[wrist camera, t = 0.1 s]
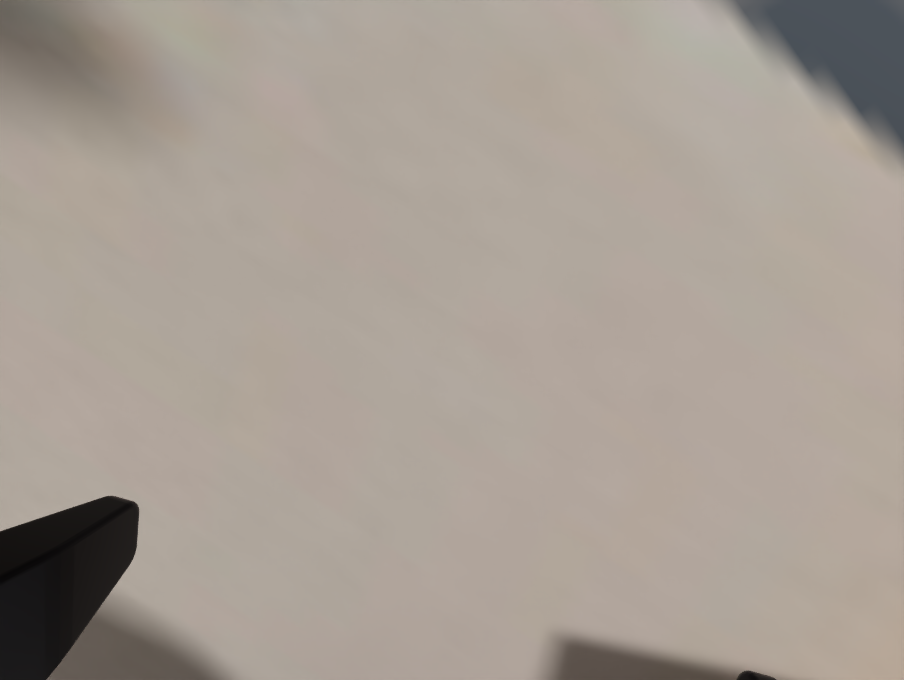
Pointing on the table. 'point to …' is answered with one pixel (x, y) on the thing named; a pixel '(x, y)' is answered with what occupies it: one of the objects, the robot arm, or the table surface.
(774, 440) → the table surface
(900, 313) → the table surface
